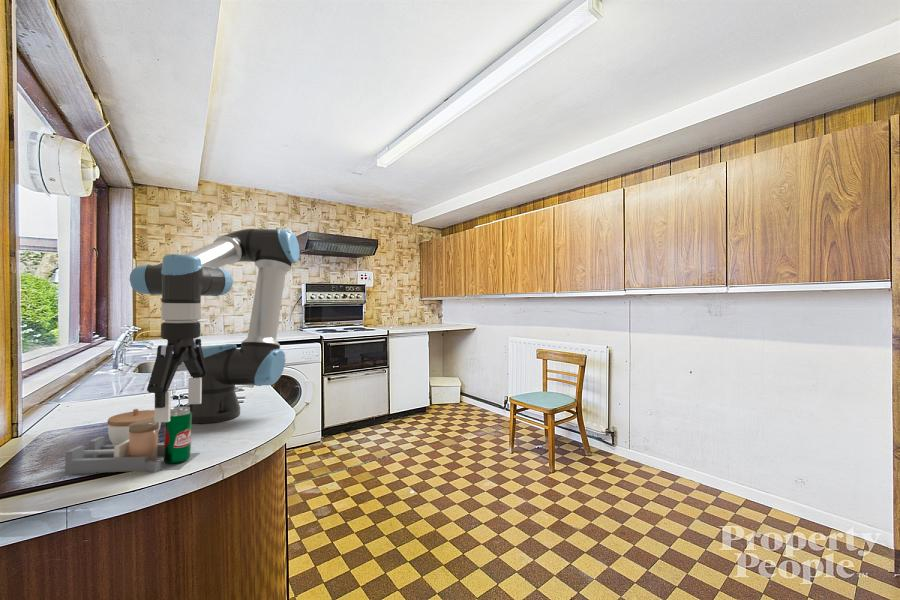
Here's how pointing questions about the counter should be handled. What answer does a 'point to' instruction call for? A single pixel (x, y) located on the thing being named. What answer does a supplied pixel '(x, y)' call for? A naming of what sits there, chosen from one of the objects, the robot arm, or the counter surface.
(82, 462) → the grey divided tray
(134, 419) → the lidded jar
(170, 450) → the soda can
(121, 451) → the pusher
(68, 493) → the counter surface
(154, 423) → the jar
